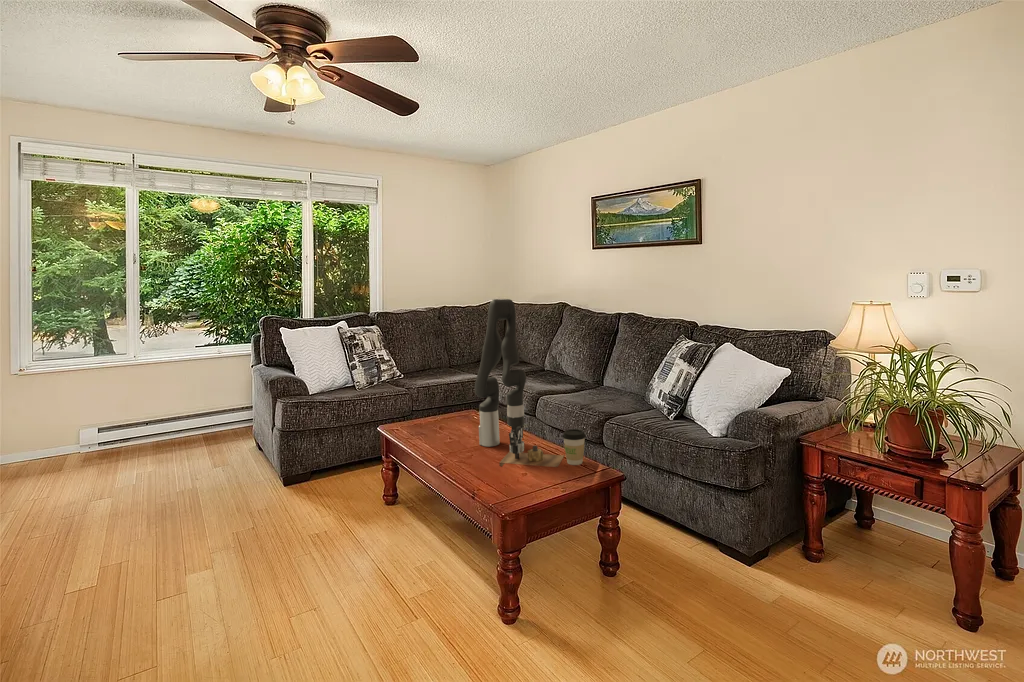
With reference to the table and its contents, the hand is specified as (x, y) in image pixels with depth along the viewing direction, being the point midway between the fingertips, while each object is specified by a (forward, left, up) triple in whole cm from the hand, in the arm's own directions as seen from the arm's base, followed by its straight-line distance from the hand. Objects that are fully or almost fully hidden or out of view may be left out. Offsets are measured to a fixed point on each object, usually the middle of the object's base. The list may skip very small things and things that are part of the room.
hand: (517, 451), depth 235 cm
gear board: (+7, 0, -5) cm, 8 cm away
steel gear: (0, 0, 0) cm, 0 cm away
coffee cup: (+26, 0, -5) cm, 26 cm away
